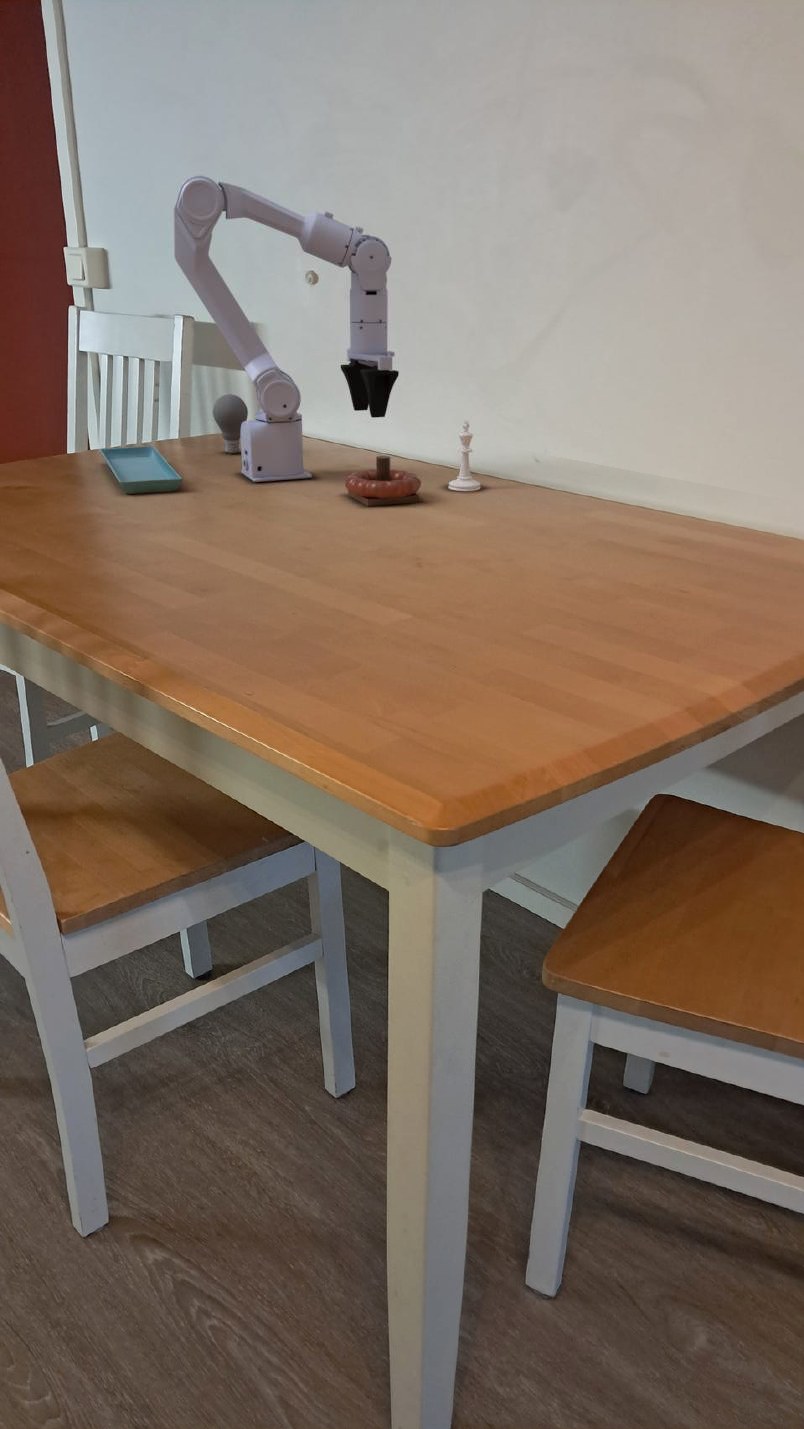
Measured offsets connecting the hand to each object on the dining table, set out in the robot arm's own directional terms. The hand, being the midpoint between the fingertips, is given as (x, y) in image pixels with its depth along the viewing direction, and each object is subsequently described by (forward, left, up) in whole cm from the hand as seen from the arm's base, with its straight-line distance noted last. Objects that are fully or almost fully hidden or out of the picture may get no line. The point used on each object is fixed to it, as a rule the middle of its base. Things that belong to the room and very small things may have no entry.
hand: (369, 413), depth 168 cm
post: (-5, -18, -9) cm, 21 cm away
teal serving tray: (-35, +10, -10) cm, 38 cm away
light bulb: (-16, +25, -10) cm, 31 cm away
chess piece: (+9, -15, -10) cm, 21 cm away
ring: (-5, -18, -7) cm, 20 cm away
